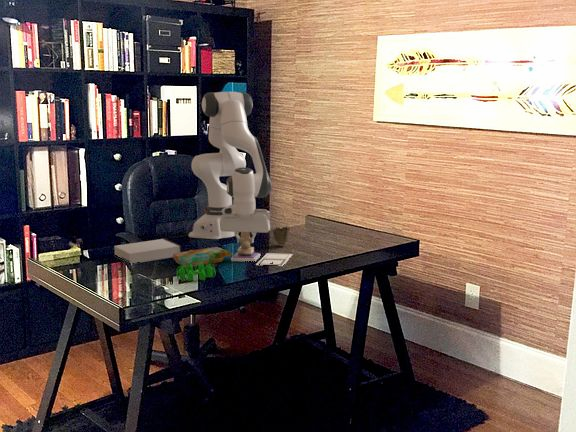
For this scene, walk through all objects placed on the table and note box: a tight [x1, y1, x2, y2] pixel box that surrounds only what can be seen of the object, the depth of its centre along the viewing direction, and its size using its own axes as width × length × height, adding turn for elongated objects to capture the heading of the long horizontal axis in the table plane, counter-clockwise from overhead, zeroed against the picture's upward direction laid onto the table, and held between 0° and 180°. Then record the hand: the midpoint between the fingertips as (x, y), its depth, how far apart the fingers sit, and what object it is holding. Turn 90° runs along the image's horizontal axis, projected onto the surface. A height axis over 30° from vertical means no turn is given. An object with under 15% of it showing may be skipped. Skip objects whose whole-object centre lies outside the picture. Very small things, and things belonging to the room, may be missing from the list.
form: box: [255, 252, 294, 267], centre depth 263 cm, size 11×19×1 cm, turn 168°
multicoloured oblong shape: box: [172, 246, 232, 268], centre depth 261 cm, size 12×5×20 cm
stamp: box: [237, 232, 255, 255], centre depth 264 cm, size 6×4×10 cm
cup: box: [272, 226, 290, 248], centre depth 286 cm, size 8×7×8 cm
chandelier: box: [176, 259, 216, 283], centre depth 239 cm, size 15×15×7 cm
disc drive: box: [114, 237, 183, 264], centre depth 273 cm, size 18×22×5 cm
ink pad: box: [230, 252, 262, 263], centre depth 265 cm, size 10×9×2 cm
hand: (245, 242), depth 264 cm, fingers closed on stamp, 4 cm apart
